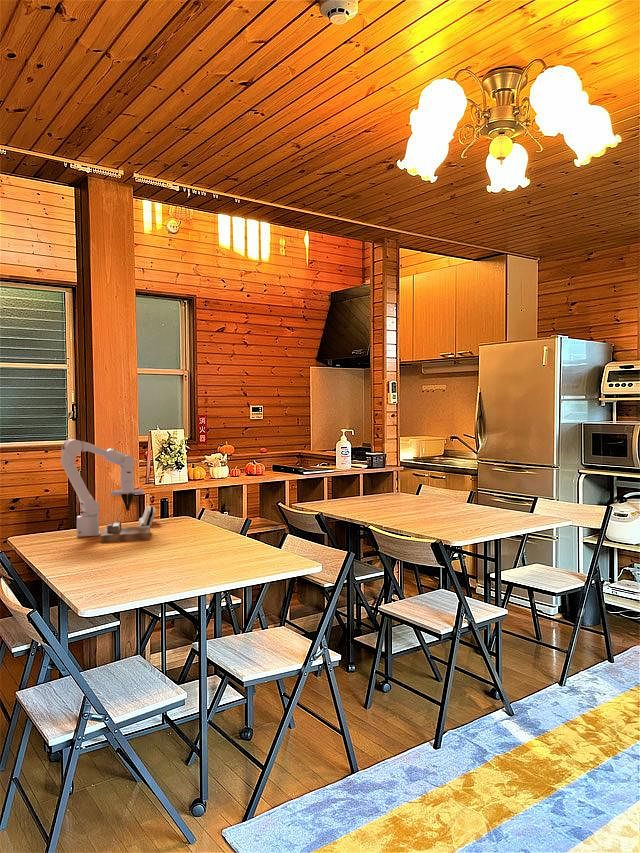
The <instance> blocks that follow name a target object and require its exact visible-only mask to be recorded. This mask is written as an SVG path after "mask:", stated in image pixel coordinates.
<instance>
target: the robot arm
mask: <svg viewBox="0 0 640 853" xmlns="http://www.w3.org/2000/svg"><path fill="white" fill-rule="evenodd" d="M82 452H89V453H92V454H95V455H98V456H101V457H103V458H104V460H105V461H107V462H109V463H112V464H115V465H117V466H120V490H111V491H110V496H120V497H121V500H122V501H123V503H124V506H125V511H126V512H127V511H130V507H131V504H132V500H133V498H134V495H144V494H145V492H144V491H145V490H144V489H134V486H135V485H134V466H135V464H136V461H135V459H134V458H133V456H131V455H127V454H126V453H125V452H120V451H117V449H116V448H108V449H105V448H102V447H100V446H97V445H95V444H93V443H90V442H87V441H83V440H78V439H73V438H69V439H66V440H65V441H64V442H63V444H62V445H61V454H60V465H61V466H62V469H63V470H64V472H65V474H66V476H67V477H68V480H69V482H70V484H71V485H72V487H73V489H74V491H75V493H76V495H77V497H78V501H79V504H80V510H81V512H82V513H81V515H77V516H76V537H78V538H79V537H93V536H95V537H96V536H101V533H102V531H100V521H99V520H100V519H99V518H100V516H99V512H100V509H101V507H100V504H99V503H98V502H97V501H96V500H95V498H94V497H93V496H92V494H91V493H90V492H89V490H88V487H87V486H86V484H85V482H84V480H83V478H82V476H81V474H80V472H79V471H78V468H77V467H76V465H75V461H76V458H77V456H78V455H79V454H80V453H82Z"/></svg>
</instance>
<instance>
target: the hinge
mask: <svg viewBox="0 0 640 853" xmlns="http://www.w3.org/2000/svg"><path fill="white" fill-rule="evenodd" d="M143 511H144V512H143V514H142V517H139V519H138V524H139V523H140V525H139V526H151V527H152V525H153V522H154V518H155V515H156V512H157V511H156V507H155V506H151V505H146V506H145V509H144V510H143Z"/></svg>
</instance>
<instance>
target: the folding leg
mask: <svg viewBox="0 0 640 853" xmlns="http://www.w3.org/2000/svg"><path fill="white" fill-rule="evenodd" d="M112 524H113V526H112V534H114V533H119V530H120V528H121V527H122V521H121V520H115V521H113V523H112Z"/></svg>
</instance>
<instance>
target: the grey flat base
mask: <svg viewBox="0 0 640 853" xmlns="http://www.w3.org/2000/svg"><path fill="white" fill-rule="evenodd" d="M113 524H114V523H107V526H106V527H104V528H103V529H102V531H101V533H100V535H99V536H100V543H101V542H104V543H116V542H115V541H121V542H134V541H133V540H138V541H150V538H149V537H150V536H151V527H150V526H148V525H142V526H140V525H138V526H121V528H120V530H119V533H114V534H112V526H113Z"/></svg>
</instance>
